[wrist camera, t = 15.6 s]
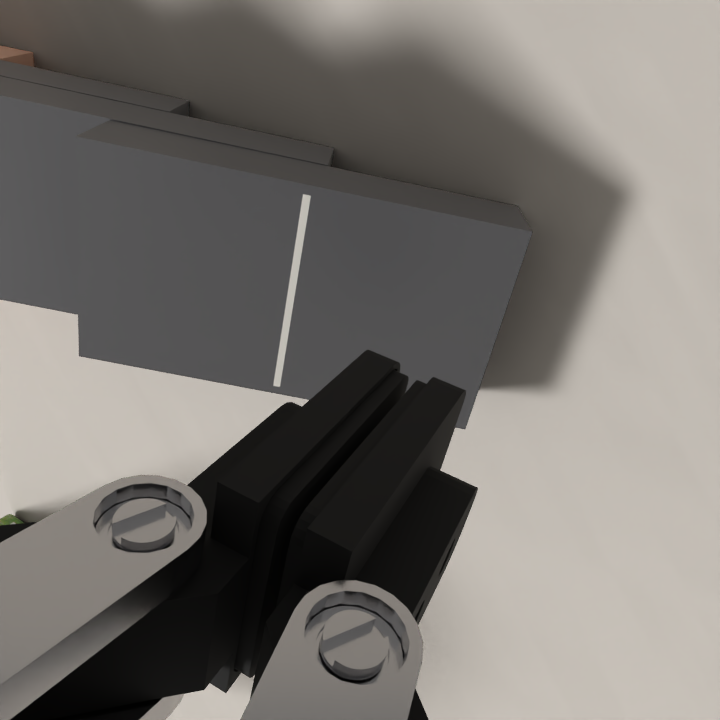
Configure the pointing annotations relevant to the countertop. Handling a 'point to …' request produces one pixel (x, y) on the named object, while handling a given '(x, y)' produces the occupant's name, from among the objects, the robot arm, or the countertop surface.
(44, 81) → the domino
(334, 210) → the domino
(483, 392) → the countertop surface
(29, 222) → the domino
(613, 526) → the countertop surface
